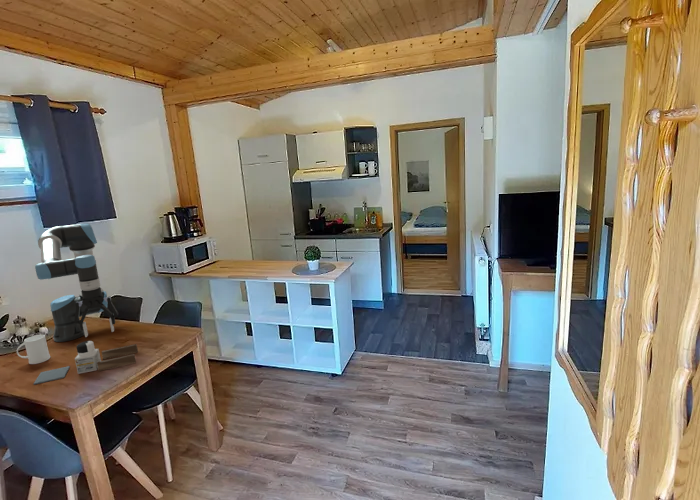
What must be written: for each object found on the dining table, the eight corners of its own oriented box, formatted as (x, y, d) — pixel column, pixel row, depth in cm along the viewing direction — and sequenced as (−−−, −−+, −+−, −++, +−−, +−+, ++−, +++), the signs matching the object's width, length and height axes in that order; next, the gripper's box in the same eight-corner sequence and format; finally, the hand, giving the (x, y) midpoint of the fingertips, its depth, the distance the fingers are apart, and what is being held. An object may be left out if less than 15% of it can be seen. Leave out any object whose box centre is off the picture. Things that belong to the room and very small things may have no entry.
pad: (41, 373, 173) (41, 372, 173) (69, 367, 178) (69, 365, 178) (33, 384, 163) (33, 383, 163) (64, 377, 168) (63, 376, 168)
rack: (103, 358, 185) (102, 351, 184) (137, 351, 191) (136, 343, 190) (98, 371, 172) (97, 363, 171) (135, 362, 178) (134, 355, 178)
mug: (19, 368, 179) (13, 345, 177) (21, 361, 186) (15, 339, 184) (50, 360, 186) (44, 338, 183) (51, 354, 193) (46, 332, 190)
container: (77, 374, 171) (71, 348, 168) (83, 366, 178) (77, 341, 175) (97, 370, 173) (91, 344, 170) (101, 362, 180) (96, 338, 178)
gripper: (59, 295, 164) (69, 342, 168) (118, 286, 173) (126, 330, 177) (63, 290, 170) (73, 335, 175) (119, 282, 180) (127, 325, 184)
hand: (100, 333), depth 176 cm, fingers open, 10 cm apart
